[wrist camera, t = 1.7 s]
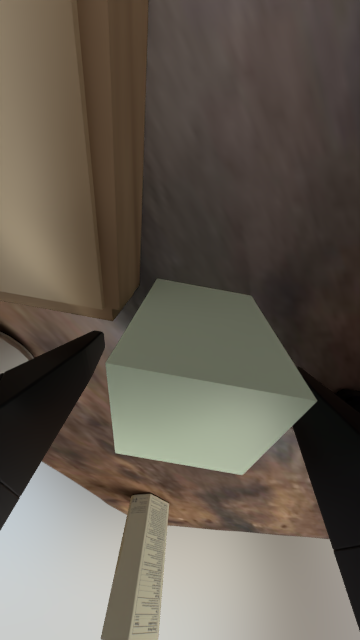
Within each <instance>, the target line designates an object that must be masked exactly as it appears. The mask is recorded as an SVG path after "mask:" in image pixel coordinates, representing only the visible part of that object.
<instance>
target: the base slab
mask: <svg viewBox="0 0 360 640" xmlns="http://www.w3.org/2000/svg"><path fill="white" fill-rule="evenodd" d="M148 2H149V0H0V301H4V302H10V303H15V304H21V305H26V306H32V307H37V308H43V309H49V310H54V311H60V312H65V313H71V314H76V315H82V316H87V317H93V318H99V319H104V320H110V321H113V320H114V319H115V318H116V316H117V315H118V314H119V312H120V311H121V310H122V309H123V307H124V306H125V305H126V303H127V302H128V301H129V300H130V298H131V297H132V296H133V294H134V291H135V290H136V288H137V287H138V286H139V285H140V254H141V223H142V191H143V160H144V128H145V97H146V65H147V34H148Z"/></svg>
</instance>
